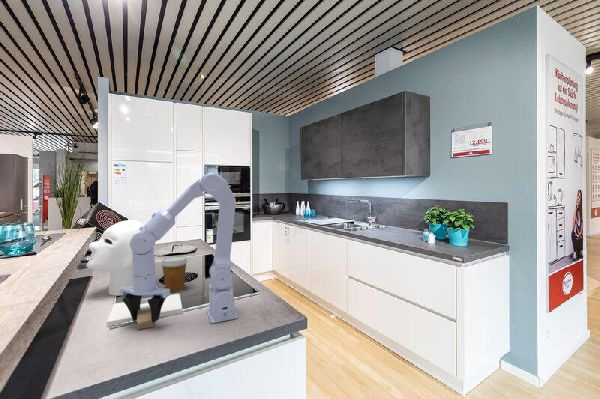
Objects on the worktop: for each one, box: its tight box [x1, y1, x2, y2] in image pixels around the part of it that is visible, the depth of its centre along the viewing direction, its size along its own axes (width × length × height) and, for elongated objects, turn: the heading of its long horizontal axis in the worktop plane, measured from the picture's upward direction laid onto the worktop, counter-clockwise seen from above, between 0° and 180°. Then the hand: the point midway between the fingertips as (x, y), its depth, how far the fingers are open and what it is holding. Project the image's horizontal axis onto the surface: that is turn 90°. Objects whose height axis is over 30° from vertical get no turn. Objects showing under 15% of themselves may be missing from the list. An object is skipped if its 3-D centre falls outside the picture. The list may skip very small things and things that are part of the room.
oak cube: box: [136, 308, 155, 330], centre depth 84 cm, size 4×4×4 cm
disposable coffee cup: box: [160, 255, 188, 293], centre depth 112 cm, size 10×10×12 cm
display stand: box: [106, 293, 183, 328], centre depth 93 cm, size 14×20×3 cm
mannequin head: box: [86, 219, 146, 297], centre depth 110 cm, size 18×23×28 cm
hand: (145, 320), depth 84 cm, fingers closed on oak cube, 6 cm apart
